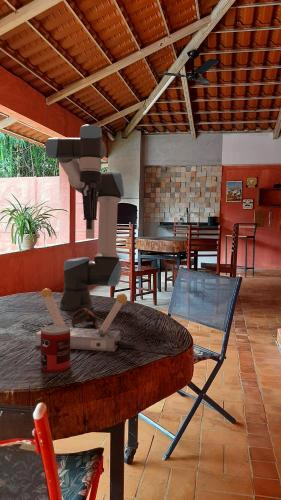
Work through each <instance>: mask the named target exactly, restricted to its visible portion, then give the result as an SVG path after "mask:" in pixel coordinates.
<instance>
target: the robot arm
mask: <svg viewBox="0 0 281 500" xmlns="http://www.w3.org/2000/svg"><path fill="white" fill-rule="evenodd" d="M79 131H80V132H79V137H49V138H47V139H46V141H45V146H44V147H45V148H44V149H45V155H46V157H47V158H49V159H54V160H55V159H56V160H57V162H58V163H59V165H60V167H61V168H62V170H63V171H64V173H65V175H66V176H67V178H68V179H67V180H68V183H69V184H70V185H69V186H71V188H72V189H74V190H75V191H76V192H78V193H80V194H81V195H82V196H81V197H82V207H83V209H82V210H83V211H82V212H83V220H84V221H85V239H89V240H90V239H91V240H95V233H96V231H95V221H97V220H98V230H97V231H98V232H97V233H98V234H97V236H98V237H97V253H96V254H95V255H94V256H93V260H91V259H90V257H87V256H85V257H76V258H70V259H67V260H65V261H64V263H63V271H62V272H63V293H62V296H61V299H60V301H59V302H60V303H59V308H60V310H64V311H68V312H70V311H71V312H77V311H78V310H80V309H83V308H87V309H88V308H89V309H91V310H92V308H94V307H93V306H94V305H93V304H94V302H93V299H92V296H91V294H90V293H91V292H90V286H92V287H93V286H94V287H115V286H116V287H117V286H118V285H119V283H120V280H121V275H122V270H123V269H122V268H123V261H121V260H120V257H119V256H118V255H117V236H118V235H117V233H118V231H117V229H118V227H117V226H118V225H117V224H118V205H119V203H120V202H121V201H122V198H123V197H125V187H124V181H123V175H122V174H121V172H119V171H113V170H112V171H102V165H103V164H104V162H103V161H102V159H104V158H105V156H106V154H107V147H106V144H105V142H104V141H103V133H102V128H101V126H99V125H96V124H84V125H81V127H80V128H79ZM98 204H99V206H98ZM98 207H99V208H98ZM98 209H99V210H98ZM97 213H98V218H97Z"/></svg>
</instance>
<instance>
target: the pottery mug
mask: <svg viewBox="0 0 281 500" xmlns="http://www.w3.org/2000/svg"><path fill="white" fill-rule="evenodd" d="M70 320H71V326H72V328H75V326H77V325H79V324H81V325H84V323H83V320H85V322H86V323H91V322H92V325H93V326H94V327H95V329H98V327H99V324H98V319H97V318H96V315H95V313H94V312H93V310H92V308H91V309H89V308H88V309H87V308H83V309H80V310H78V311H74V313H72V316H71V317H70Z"/></svg>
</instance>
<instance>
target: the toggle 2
mask: <svg viewBox="0 0 281 500" xmlns="http://www.w3.org/2000/svg"><path fill="white" fill-rule="evenodd" d="M115 300H116V301H115V303H114V304H113V306H112V307H111V309H110V311H109V313H108V314H107V317H106V318H105V319H104V321H103V323H102V324H101V326H100V328H99V329H98V330H99V335H102V334H104V333H105V332H106V331H107V330H109V328H110V326H111V324H112V322H113V320H114V319H115V317H116V316H117V314H118V312H119V311H120V309H121V308H122V306H123V305H125V304H126V303H127V302H128V297H127V295H126V294H125V293H119V294H117V295H116V297H115Z"/></svg>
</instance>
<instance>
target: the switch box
mask: <svg viewBox="0 0 281 500" xmlns="http://www.w3.org/2000/svg"><path fill="white" fill-rule="evenodd" d="M35 346H36V347H41V330H39V331H37V332H36V333H35ZM118 347H128V348H136V347H137V342H136V341H124V340H121V330H113V329H112V330H111V329H107V331H106V332H105V333H104V334H102V335H99V329H98V328H95V329H94V328H83V327H82V328H81V327H80V328H78V327H70V349H71V350H72V349H74V350H89V351H98V352H99V351H100V352H101V351H102V352H112V353H113V352H115V351H116V350H117V349H118Z"/></svg>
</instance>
